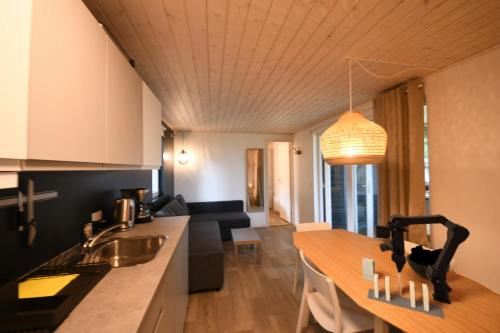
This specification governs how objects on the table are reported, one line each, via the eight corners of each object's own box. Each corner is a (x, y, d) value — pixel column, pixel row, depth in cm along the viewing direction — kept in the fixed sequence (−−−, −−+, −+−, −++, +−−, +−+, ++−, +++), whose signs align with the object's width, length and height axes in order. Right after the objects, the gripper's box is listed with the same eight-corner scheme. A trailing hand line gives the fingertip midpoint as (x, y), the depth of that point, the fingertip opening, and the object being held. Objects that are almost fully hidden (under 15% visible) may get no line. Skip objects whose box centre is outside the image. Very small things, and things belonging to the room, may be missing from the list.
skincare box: (376, 279, 128) (375, 259, 128) (374, 283, 125) (373, 262, 125) (364, 276, 132) (363, 256, 132) (362, 279, 129) (361, 259, 129)
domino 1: (375, 292, 115) (374, 273, 115) (379, 293, 114) (378, 274, 114) (374, 297, 111) (373, 277, 111) (378, 298, 110) (377, 278, 110)
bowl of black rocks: (399, 273, 134) (398, 243, 134) (420, 266, 141) (419, 238, 142) (436, 289, 116) (435, 254, 116) (458, 281, 123) (457, 248, 123)
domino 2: (386, 295, 112) (385, 275, 112) (390, 296, 111) (389, 276, 111) (386, 300, 108) (385, 280, 108) (390, 301, 107) (389, 281, 107)
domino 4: (410, 301, 106) (409, 280, 106) (414, 302, 105) (413, 281, 106) (411, 306, 102) (410, 285, 102) (415, 307, 101) (414, 286, 101)
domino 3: (398, 290, 117) (397, 271, 117) (401, 291, 116) (400, 272, 116) (398, 295, 113) (397, 275, 113) (401, 295, 112) (401, 276, 112)
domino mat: (369, 289, 119) (369, 288, 119) (441, 307, 102) (441, 306, 102) (367, 298, 110) (367, 297, 110) (445, 319, 94) (445, 318, 94)
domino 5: (423, 304, 104) (422, 283, 104) (427, 305, 103) (426, 284, 103) (424, 310, 99) (423, 288, 100) (428, 311, 99) (427, 289, 99)
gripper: (380, 232, 126) (381, 259, 126) (379, 242, 111) (380, 272, 111) (403, 235, 120) (405, 263, 120) (405, 246, 105) (407, 278, 104)
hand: (399, 268), depth 114 cm, fingers open, 9 cm apart
